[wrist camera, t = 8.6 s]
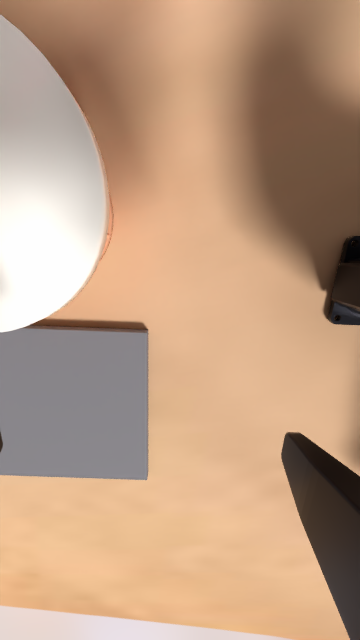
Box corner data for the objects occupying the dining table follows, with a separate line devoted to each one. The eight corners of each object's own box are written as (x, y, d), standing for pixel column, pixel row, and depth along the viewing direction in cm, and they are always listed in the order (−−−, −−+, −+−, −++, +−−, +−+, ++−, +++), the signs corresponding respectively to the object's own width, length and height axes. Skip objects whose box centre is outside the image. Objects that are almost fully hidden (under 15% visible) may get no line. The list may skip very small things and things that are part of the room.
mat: (148, 329, 19) (146, 333, 18) (148, 472, 23) (146, 479, 22) (-37, 322, 19) (-46, 325, 18) (-4, 467, 23) (-10, 474, 22)
